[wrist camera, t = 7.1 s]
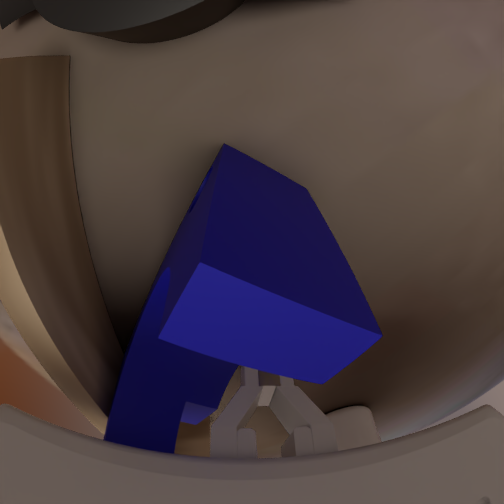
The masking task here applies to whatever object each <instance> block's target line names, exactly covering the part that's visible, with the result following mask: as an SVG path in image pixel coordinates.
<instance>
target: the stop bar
mask: <svg viewBox="0 0 504 504" xmlns="http://www.w3.org/2000/svg"><path fill="white" fill-rule="evenodd" d="M69 63H70V56H27V57H13V58H3V59H0V300H1V302H2V304H3V305H4V307H5V309H6V311H7V313H8V314H9V316H10V318H11V320H12V321H13V323H14V325H15V326H16V328H17V330H18V331H19V333H20V334H21V336H22V337H23V339H24V341H25V342H26V344H27V345H28V347H29V348H30V349H31V351H32V352H33V354H34V355H35V357H36V358H37V359H38V361H39V362H40V364H41V365H42V366H43V368H44V369H45V370H46V372H47V373H48V374H49V375H50V377H51V378H52V379H53V380H54V382H55V383H56V384H57V385H58V387H59V388H60V389H61V390H62V391H63V393H64V394H65V395H66V396H67V397H68V398H69V399H70V401H71V402H72V403H73V404H74V405H75V406H76V407H77V408H78V409H79V410H80V411H81V413H82V414H83V415H84V416H85V417H86V418H87V419H88V420H90V422H91V423H92V424H93V425H94V426H95V427H96V428H97V429H98V430H99V431H100V432H101V433H102V434H104V435H105V430H106V425H107V420H108V417H109V412H110V408H111V404H112V399H113V395H114V391H115V387H116V383H117V379H118V376H119V372H120V368H121V365H122V361H123V357H124V354H123V351H122V349H121V346H120V344H119V341H118V339H117V336H116V334H115V331H114V328H113V326H112V323H111V320H110V317H109V315H108V312H107V309H106V306H105V303H104V300H103V297H102V294H101V291H100V287H99V284H98V281H97V277H96V274H95V270H94V267H93V263H92V259H91V256H90V252H89V248H88V244H87V239H86V235H85V230H84V226H83V221H82V216H81V211H80V206H79V200H78V194H77V188H76V181H75V174H74V166H73V158H72V148H71V136H70V120H69ZM174 454H179V455H188V456H199V457H210V418H209V416H208V417H206V418H205V419H204V420H202V421H201V422H199V423H198V424H197V425H194V424H190V423H185V422H181V421H180V424H179V429H178V434H177V439H176V445H175V451H174Z"/></svg>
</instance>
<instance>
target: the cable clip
mask: <svg viewBox="0 0 504 504" xmlns="http://www.w3.org/2000/svg"><path fill="white" fill-rule="evenodd" d="M382 336H383V335H382V333H381V331H380V328H379V326H378V324H377V322H376V320H375V317H374V315H373V313H372V311H371V309H370V307H369V305H368V302H367V300H366V298H365V296H364V294H363V292H362V290H361V288H360V286H359V284H358V282H357V280H356V278H355V276H354V274H353V272H352V270H351V268H350V266H349V264H348V262H347V260H346V258H345V256H344V255H343V253H342V251H341V249H340V247H339V245H338V243H337V241H336V240H335V238H334V236H333V234H332V232H331V230H330V229H329V227H328V225H327V223H326V221H325V220H324V218H323V216H322V214H321V213H320V211H319V209H318V207H317V206H316V204H315V202H314V201H313V199H312V197H311V195H310V194H309V192H308V190H307V189H306V188H304V187H303V186H301V185H299V184H298V183H296V182H294V181H292V180H291V179H289V178H287V177H286V176H284V175H282V174H280V173H279V172H277V171H275V170H273V169H271V168H270V167H268V166H266V165H264V164H262V163H261V162H259V161H257V160H255V159H253V158H251V157H249V156H248V155H246V154H244V153H242V152H240V151H238V150H236V149H234V148H232V147H230V146H228V145H226V144H224V145H223V146H222V148H221V150H220V152H219V153H218V155H217V157H216V159H215V160H214V162H213V164H212V166H211V168H210V169H209V171H208V173H207V175H206V177H205V179H204V180H203V182H202V184H201V186H200V188H199V190H198V192H197V194H196V195H195V197H194V199H193V201H192V203H191V205H190V207H189V209H188V211H187V213H186V215H185V217H184V219H183V221H182V223H181V225H180V227H179V229H178V231H177V233H176V235H175V237H174V239H173V241H172V243H171V246H170V248H169V250H168V252H167V254H166V256H165V258H164V260H163V263H162V265H161V267H160V269H159V271H158V274H157V276H156V278H155V280H154V283H153V285H152V287H151V290H150V292H149V294H148V296H147V299H146V301H145V304H144V306H143V308H142V311H141V313H140V316H139V318H138V321H137V323H136V326H135V328H134V331H133V333H132V336H131V338H130V341H129V343H128V346H127V349H126V351H125V354H124V357H123V361H122V365H121V368H120V372H119V376H118V379H117V383H116V387H115V391H114V395H113V399H112V404H111V408H110V412H109V417H108V420H107V425H106V430H105V435H104V440H105V441H109V442H113V443H117V444H121V445H126V446H130V447H135V448H140V449H146V450H152V451H158V452H164V453H171V454H174V451H175V445H176V439H177V434H178V429H179V424H180V421H181V422H185V423H190V424H194V425H197V424H198V423H199V422H201V421H202V420H204V419H205V418H206V417H208V416H209V415H210V414H212V413H213V412H214V411H215V410H217V409H218V406H219V403H220V401H221V398H222V396H223V393H224V391H225V389H226V387H227V385H228V383H229V381H230V379H231V377H232V376H233V374H234V372H235V370H236V369H237V367H238V366H239V365H241V366H245V367H249V368H252V369H256V370H260V371H264V372H268V373H272V374H276V375H280V376H285V377H289V378H293V379H298V380H303V381H307V382H312V383H318V384H324V383H325V382H326V381H328V380H329V379H330V378H332V377H333V376H334V375H336V374H337V373H338V372H340V371H341V370H342V369H344V368H345V367H346V366H347V365H349V364H350V363H351V362H353V361H354V360H355V359H356V358H358V357H359V356H360V355H361V354H362V353H364V352H365V351H366V350H367V349H368V348H370V347H371V346H372V345H373V344H374V343H375V342H377V341H378V340H379V339H380V338H381V337H382Z"/></svg>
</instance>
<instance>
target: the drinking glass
mask: <svg viewBox="0 0 504 504" xmlns="http://www.w3.org/2000/svg"><path fill="white" fill-rule="evenodd" d="M326 416H327V417H328V418H329V419H330V421H331V422H332V423H333V426H334V431H335V436H336V442H337V447H338V451H341V450H347V449H352V448H357V447H362V446H367V445H371V444H376V443H380V442H382V441H381V438H380V436H379V433H378V431H377V428H376V425H375V422H374V418H373V415H372V412H371V410H370V409H369V408H367V407H365V406H350V407H345V408H342V409H338V410H335V411H333V412H330V413H328V414H326Z"/></svg>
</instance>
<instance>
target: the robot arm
mask: <svg viewBox="0 0 504 504" xmlns="http://www.w3.org/2000/svg"><path fill="white" fill-rule="evenodd" d="M257 406H269V407H270V409H271V410H272V412H273V413H274V414H275V416H276V417H277V418H278V420H279V421H280V422H281V424H282V425H283V427H284V428H285V429H286V431H287V432H288V433H289V435H290V436H289V437H288V438H287V440H286V441H285V442H284V444H283V445H282V446H281V454H282V457H279V458H257V445H256V431H254V430H253V429H252V428H244V427H245V426H246V424H247V423H248V421H249V419H250V418H251V416H252V415H253V413H254V411H255V410H256V408H257ZM0 504H504V416H503V415H502V414H501V413H500V412H498V411H497V410H496V409H495V408H493V407H492V406H490V405H483V406H481V407H479V408H477V409H475V410H472V411H470V412H468V413H466V414H464V415H461V416H459V417H457V418H454V419H452V420H449V421H446V422H444V423H441V424H439V425H436V426H433V427H430V428H427V429H425V430H422V431H419V432H415V433H412V434H409V435H406V436H402V437H399V438H395V439H392V440H388V441H384V442H380V443H376V444H371V445H367V446H362V447H357V448H352V449H347V450H341V451H338V447H337V442H336V436H335V431H334V426H333V423H332V422H331V421H330V419H329V418H328V417H327V416H326V415H325V414H324V413H323V412H322V411H321V410H320V409H319V408H318V407H317V406H316V405H315V404H314V403H313V402H312V401H311V399H310V398H309V397H308V396H307V395H306V394H305V393H304V392H303V391H302V390H301V389H300V388H299V387H298V386H294V380H293V378H289V377H285V376H280V375H276V374H272V373H268V372H264V371H260V370H256V369H252V368H249V367H245V366H241V387H240V388H239V390H238V391H237V392H236V394H235V395H234V397H233V398H232V399H231V401H230V402H229V403H228V405H227V406H226V407H225V409H224V410H223V411H222V413H221V414H220V415H219V417H218V418H217V419H216V421H215V422H214V423H213V425H212V426H211V447H210V457H199V456H188V455H179V454H171V453H164V452H158V451H152V450H146V449H140V448H135V447H130V446H126V445H121V444H117V443H113V442H109V441H105V440H101V439H98V438H94V437H90V436H87V435H84V434H81V433H77V432H75V431H72V430H68V429H66V428H63V427H60V426H57V425H55V424H52V423H49V422H47V421H44V420H42V419H39V418H37V417H35V416H32V415H30V414H28V413H25V412H23V411H21V410H19V409H17V408H15V407H13V406H11V405H8V404H2V405H0Z"/></svg>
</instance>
